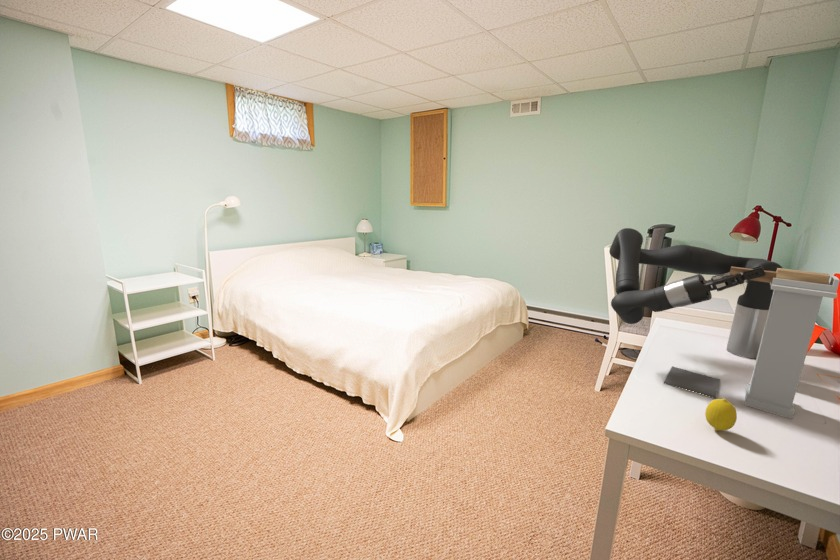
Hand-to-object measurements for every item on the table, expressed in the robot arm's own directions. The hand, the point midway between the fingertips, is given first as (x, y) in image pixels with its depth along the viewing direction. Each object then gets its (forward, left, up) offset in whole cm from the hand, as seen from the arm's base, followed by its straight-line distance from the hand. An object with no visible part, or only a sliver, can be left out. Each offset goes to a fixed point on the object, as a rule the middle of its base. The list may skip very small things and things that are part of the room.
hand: (763, 270), depth 97 cm
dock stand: (0, +7, -35) cm, 35 cm away
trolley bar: (0, +2, -3) cm, 4 cm away
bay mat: (0, -10, -35) cm, 36 cm away
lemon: (+25, -2, -35) cm, 43 cm away
